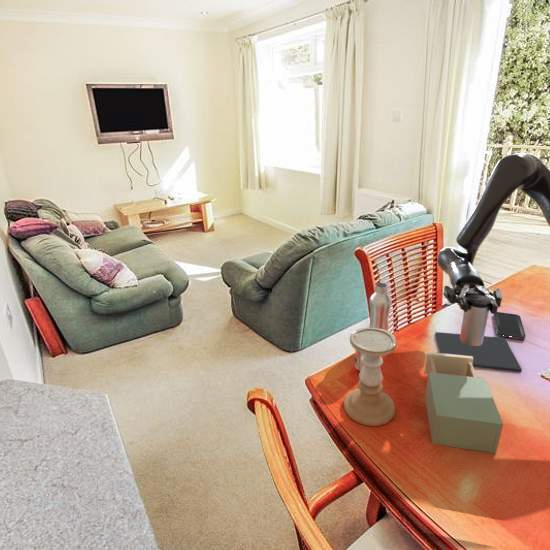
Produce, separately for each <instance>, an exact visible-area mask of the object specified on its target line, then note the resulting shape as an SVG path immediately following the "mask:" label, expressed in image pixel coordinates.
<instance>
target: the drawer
mask: <svg viewBox="0 0 550 550" xmlns="http://www.w3.org/2000/svg"><path fill="white" fill-rule="evenodd" d="M472 364H473V356H465V355H454V354H444V353H440V352H432V351H425V358H424V367H423V373H424V374H427V375H428V373H429V372H431V373H440V374H449V375H458V376H467V377H476V378H478V376H477V373H476V371H475V367H473V365H472Z"/></svg>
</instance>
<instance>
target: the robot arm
mask: <svg viewBox="0 0 550 550" xmlns="http://www.w3.org/2000/svg"><path fill="white" fill-rule="evenodd" d="M516 190H520V191H521V192H523V193H524V194H525V195H527V196H528V198H530V199H531V200H532V201H533V202H534V203H535V204H536V205H537V206H538V208H539V209H540V210H541V213H542V215H543V217H544V219H545V221H546V223H547V225H548V227H550V169H549V167H548V166H547V165H546V164H545V163H544V162H543V161H542V160H541V159H540V158H539V157H538V156H536V155H535V154H533V153H529V152H519V153H511V154H508V155H505V156H504V157H502V158H500V160H498V161H497V163H496V165H495V166H494V168H493V170H492V173H491V175H490V177H489V179H488V181H487V184H486V187H485V188H484V190H483V192H482V194H481V197H480V199H479V201H478V203H477V204H476V206H475V208H474V210H473V211H472V213H471V215H470V216H469V217H468V219H467V221H466V222H465V224H464V225H463V226H462V228H461V230H460V232H458V234H457V236H456V243H457V245H458V246H459V247H461V248H462V249H464V250H465V251H464V250H460V249H457V248H456V247H452V246H446V247H443V248H442V249H441V250H439V252H438V253H437V256H436V257H437V258H436V260H437V261H436V262H437V265H438V267H439V268H440V269H441V270H442V271H443V272H444V273H445V274H447V275H448V277H449V282H450V285H451V287H450V286H449V285H444V288H443V296H444V298H445V299H446V300H447V302H448V303H449V304H451V305H455V304H457V305H458V306H459V308H460V310H462V311H463V313H464V312H467V311H468V302H467V300H466V297H467V296H468V295H482V296H485V297H488V298H489V299H490V300H491V305H490V309H489V313H490V314H492V315H494V314H495V312H498V308H501V305H502V300H503V295H502V290H501V289H500V288H495V289H494V290H490V289H489V288H488V287H486V286H485V282H484V280H483V278H481V276H480V274H479V272H478V271H477V270H476V269H475V268H474V266H473V265H474V262H475V259H476V255H477V254H478V251H479V249H480V247H481V246H482V244H483V243H484V241H485V240H486V238H487V237H488V236H489V234H490V232H491V231H492V229H493V227H494V225H495V224H496V220H497V217H498V215H499V212H500V210H501V208H502V207H503V205H504V203H505V202H507V200H508V199H509V197H510V196H511V195H512V194H513V193H515V191H516Z"/></svg>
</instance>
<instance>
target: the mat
mask: <svg viewBox="0 0 550 550" xmlns="http://www.w3.org/2000/svg"><path fill="white" fill-rule="evenodd" d="M434 335H435V337H436V342H437V347H438V350H439V353H444V354H454V355H465V356H473V364H472V365H473V368H480V369H482V368H483V369H491V370H492V369H493V370H501V371H511V372H519V373H522V370H523V369H522V367H521V365H520V364H519V361H518V360H517V358H516V356H515V354H514V352H513V350H512V349H511V347H510V345H509V343H508V342H507V340H506V337H500V336H487V335H486V336H485V335H484V339H483V343H482V345H479V346H470V345H467V344H465V343H463V342H462V341H461V340H460V333H452V332H439V331H435V333H434Z"/></svg>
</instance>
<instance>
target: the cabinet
mask: <svg viewBox="0 0 550 550" xmlns="http://www.w3.org/2000/svg"><path fill="white" fill-rule="evenodd" d="M424 400H425V408H426V413H427V420H428V425H429V433H430V438H431V444H433V445H437V446H439V445H440V446H444V447H445V446H446V447H451V448H452V447H453V448H458V449H465V450H470V451H478V452H484V453H492V454H497V451H498V447H499V443H500V440H501V435H502V431H503V427H504V422H503V420H502V417H501V415H500V412H499V410H498V407H497V404H496V402H495V399H494V397H493V395H492V392H491V389H490V387H489V385H488V382H487V379H486V378H483V377H477V378H476V377H467V376H458V375H449V374H440V373H431V372H429V373H428V374H427V382H426V389H425V395H424Z"/></svg>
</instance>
